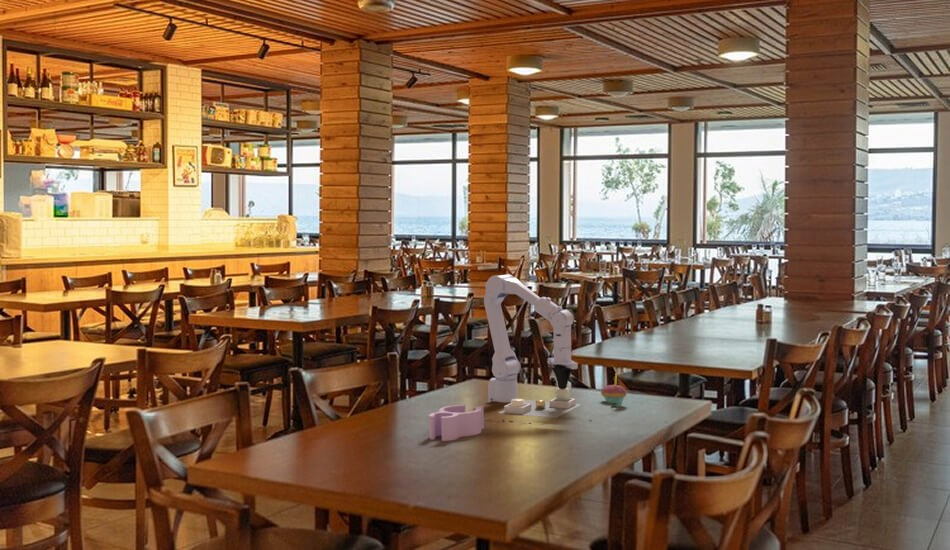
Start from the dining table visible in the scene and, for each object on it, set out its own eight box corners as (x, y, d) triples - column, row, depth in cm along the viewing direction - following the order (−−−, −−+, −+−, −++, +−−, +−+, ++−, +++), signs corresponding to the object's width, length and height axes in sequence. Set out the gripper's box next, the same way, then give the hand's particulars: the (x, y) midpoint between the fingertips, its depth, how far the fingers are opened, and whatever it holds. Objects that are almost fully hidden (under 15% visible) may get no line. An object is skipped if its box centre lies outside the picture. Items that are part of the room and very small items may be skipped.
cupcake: (631, 407, 330) (631, 371, 330) (608, 409, 327) (608, 373, 326) (618, 402, 338) (618, 367, 338) (596, 404, 335) (596, 369, 334)
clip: (455, 443, 281) (455, 419, 281) (419, 438, 288) (418, 414, 287) (490, 429, 298) (490, 407, 298) (456, 425, 305) (455, 403, 304)
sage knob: (553, 400, 324) (553, 389, 324) (558, 398, 328) (558, 387, 328) (566, 401, 323) (566, 390, 322) (571, 399, 327) (571, 388, 326)
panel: (497, 417, 315) (497, 406, 315) (526, 404, 337) (526, 394, 337) (556, 422, 306) (556, 411, 306) (582, 408, 328) (582, 398, 328)
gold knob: (534, 408, 321) (534, 401, 321) (537, 407, 324) (537, 399, 323) (543, 409, 320) (543, 402, 319) (546, 408, 322) (546, 400, 322)
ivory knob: (508, 411, 316) (508, 400, 316) (514, 409, 320) (514, 398, 320) (521, 413, 314) (521, 401, 314) (526, 410, 318) (526, 399, 318)
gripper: (539, 345, 329) (540, 386, 330) (564, 350, 316) (565, 392, 317) (557, 344, 332) (557, 384, 333) (582, 348, 320) (583, 390, 320)
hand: (562, 388), depth 325 cm, fingers closed
